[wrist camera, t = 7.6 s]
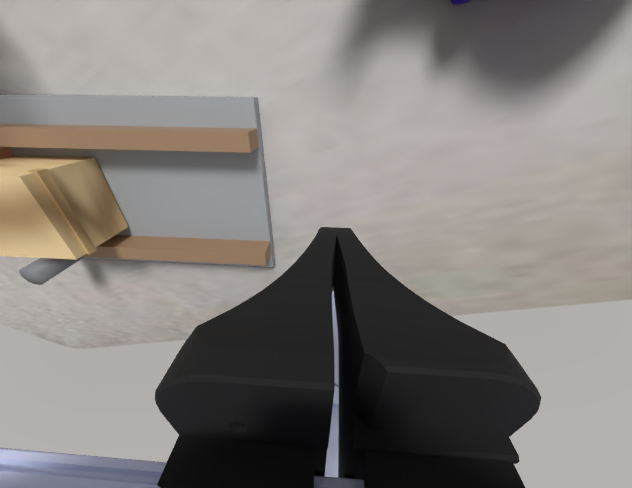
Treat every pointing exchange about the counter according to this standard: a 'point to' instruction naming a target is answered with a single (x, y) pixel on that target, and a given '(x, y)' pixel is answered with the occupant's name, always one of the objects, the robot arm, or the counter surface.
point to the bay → (157, 172)
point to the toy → (459, 2)
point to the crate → (55, 207)
